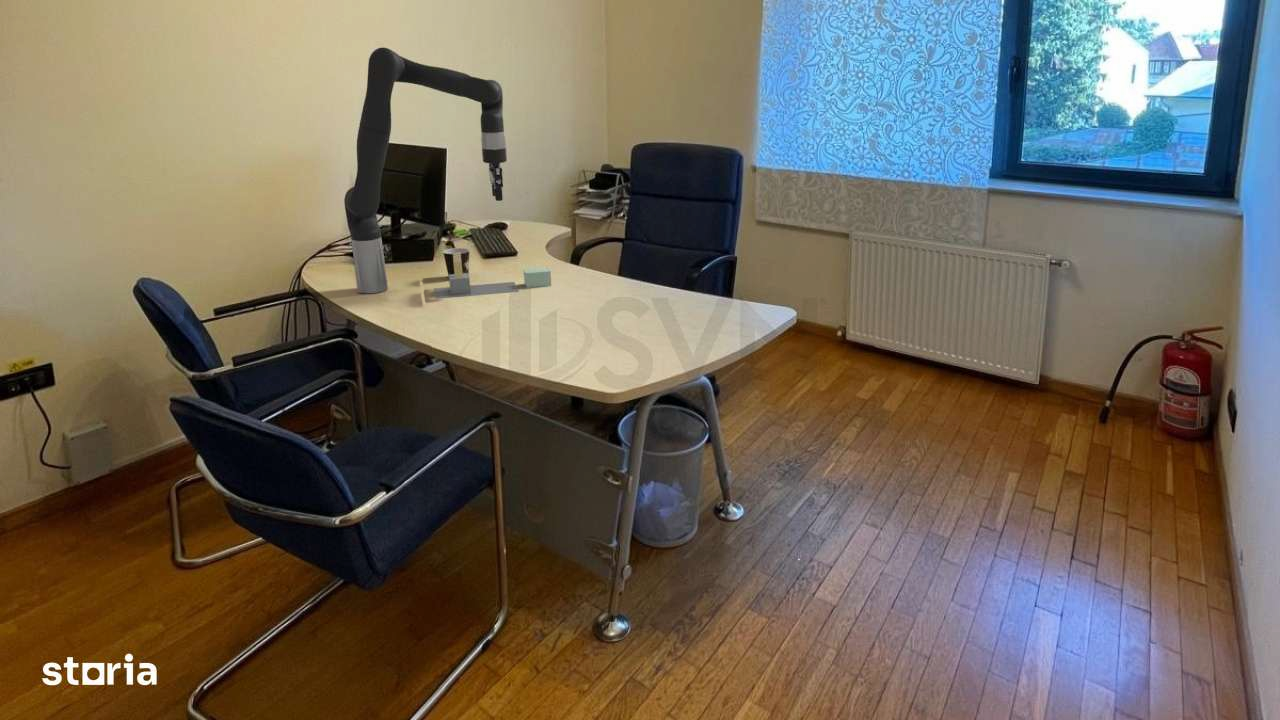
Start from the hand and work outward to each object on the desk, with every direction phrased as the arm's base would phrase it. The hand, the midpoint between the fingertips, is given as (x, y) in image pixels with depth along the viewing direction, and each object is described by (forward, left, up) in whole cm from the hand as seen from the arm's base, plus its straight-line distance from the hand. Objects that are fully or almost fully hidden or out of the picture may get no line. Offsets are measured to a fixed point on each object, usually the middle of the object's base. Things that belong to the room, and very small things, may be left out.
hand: (497, 198), depth 259 cm
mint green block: (+10, -10, -28) cm, 31 cm away
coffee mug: (-13, +9, -28) cm, 32 cm away
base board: (-10, -10, -28) cm, 31 cm away
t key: (-15, -10, -22) cm, 28 cm away
